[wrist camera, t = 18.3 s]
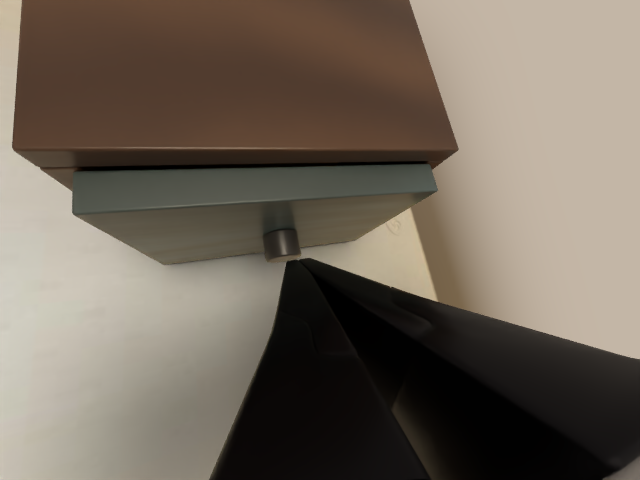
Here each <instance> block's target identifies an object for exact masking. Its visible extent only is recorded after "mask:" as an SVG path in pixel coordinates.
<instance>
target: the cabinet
mask: <svg viewBox="0 0 640 480" xmlns="http://www.w3.org/2000/svg"><path fill="white" fill-rule="evenodd" d="M12 148H13V150H14V151H15V152H17V153H18V154H19V155H21V156H22V157H24V158H25V159H27V160H28V161H30V162H31V163H32V164H34V165H35V166H38V167H40V169H41V170H42V171H44V172H45V173H47V174H48V175H50V176H51V177H52V178H54V179H55V180H57V181H58V182H60V183H61V184H63V185H64V186H65V187H67V188H68V189H70V190H71V191H73V172H75V171H120V170H138V169H137V168H136V167H135V166H153V165H213V164H273V163H334V162H380V163H379V164H378V165H401V164H430V166H431V169H434V168H435V167H436V166H438V165H439V164H440V163H442V162H443V161H444V160H446V159H447V158H448V157H450V156H451V155H452V154H454V153H455V152H457V151H458V146H457V143H456V140H455V137H454V134H453V131H452V128H451V125H450V122H449V119H448V116H447V113H446V110H445V107H444V104H443V101H442V98H441V95H440V92H439V89H438V86H437V83H436V80H435V77H434V74H433V71H432V68H431V65H430V62H429V59H428V56H427V53H426V50H425V47H424V44H423V41H422V38H421V35H420V32H419V29H418V25H417V23H416V20H415V17H414V14H413V10H412V7H411V5H410V1H409V0H22V9H21V23H20V38H19V53H18V68H17V83H16V97H15V112H14V127H13V142H12Z"/></svg>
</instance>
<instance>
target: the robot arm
mask: <svg viewBox="0 0 640 480" xmlns="http://www.w3.org/2000/svg"><path fill="white" fill-rule="evenodd" d="M209 480H640V359H635V358H630V357H626V356H622V355H618V354H615V353H611V352H608V351H605V350H601V349H598V348H594V347H591V346H588V345H584V344H581V343H577V342H574V341H570V340H567V339H563V338H560V337H556V336H553V335H549V334H546V333H543V332H539V331H535V330H532V329H529V328H525V327H522V326H518V325H515V324H512V323H508V322H505V321H501V320H498V319H494V318H491V317H488V316H484V315H481V314H477V313H474V312H471V311H467V310H464V309H460V308H457V307H453V306H449V305H446V304H442V303H440V302H436V301H433V300H430V299H426V298H423V297H420V296H417V295H414V294H411V293H408V292H405V291H402V290H399V289H396V288H394V287H391V288H390V287H389V286H387V285H384V284H381V283H378V282H375V281H373V280H370V279H367V278H364V277H361V276H359V275H356V274H353V273H350V272H347V271H345V270H342V269H339V268H336V267H333V266H331V265H328V264H325V263H322V262H319V261H317V260H314V259H311V258H305V259H300V260H299V261H298V260H291V261H287V262H286V267H285V272H284V277H283V282H282V286H281V291H280V296H279V301H278V306H277V311H276V315H275V320H274V323H273V327H272V331H271V334H270V337H269V339H268V342H267V345H266V347H265V350H264V352H263V354H262V357H261V359H260V361H259V364H258V366H257V369H256V371H255V373H254V376H253V378H252V380H251V383H250V385H249V387H248V390H247V392H246V394H245V397H244V399H243V401H242V404H241V406H240V408H239V411H238V413H237V415H236V418H235V420H234V423H233V425H232V427H231V430H230V432H229V434H228V437H227V439H226V441H225V444H224V446H223V448H222V451H221V453H220V455H219V458H218V460H217V462H216V465H215V467H214V469H213V472H212V474H211V477H210V479H209Z"/></svg>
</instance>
